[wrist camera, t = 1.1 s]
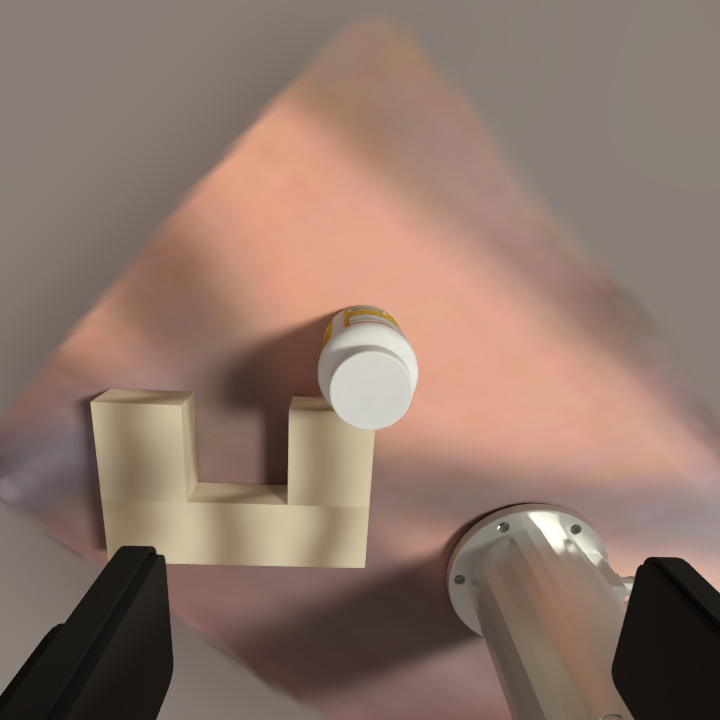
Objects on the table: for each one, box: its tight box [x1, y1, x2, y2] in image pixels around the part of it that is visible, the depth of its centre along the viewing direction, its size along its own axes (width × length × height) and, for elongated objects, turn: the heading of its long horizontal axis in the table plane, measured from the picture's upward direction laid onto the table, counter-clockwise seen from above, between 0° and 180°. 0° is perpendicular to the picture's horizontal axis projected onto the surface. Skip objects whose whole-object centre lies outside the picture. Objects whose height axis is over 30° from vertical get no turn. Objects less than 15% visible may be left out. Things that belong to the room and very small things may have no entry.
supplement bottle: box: [318, 305, 418, 430], centre depth 26 cm, size 5×5×10 cm
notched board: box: [90, 389, 375, 568], centre depth 31 cm, size 18×12×2 cm, turn 87°
